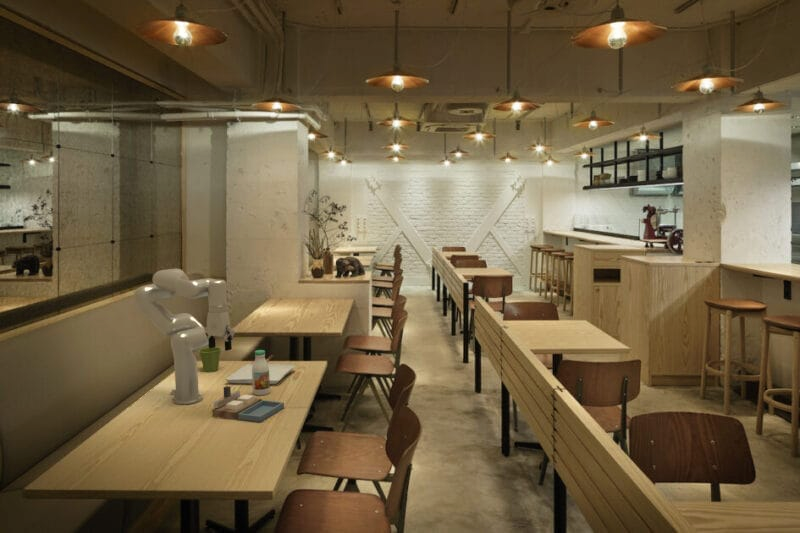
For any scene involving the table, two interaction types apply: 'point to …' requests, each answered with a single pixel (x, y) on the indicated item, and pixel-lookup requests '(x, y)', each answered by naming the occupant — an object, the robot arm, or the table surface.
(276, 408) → the box
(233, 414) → the walnut board
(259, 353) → the milk bottle
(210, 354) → the plant pot
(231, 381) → the square plate
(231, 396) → the bar
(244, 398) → the white tile
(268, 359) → the kitchen cleaver
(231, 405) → the white tile
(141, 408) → the table surface
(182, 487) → the table surface
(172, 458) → the table surface
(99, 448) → the table surface
